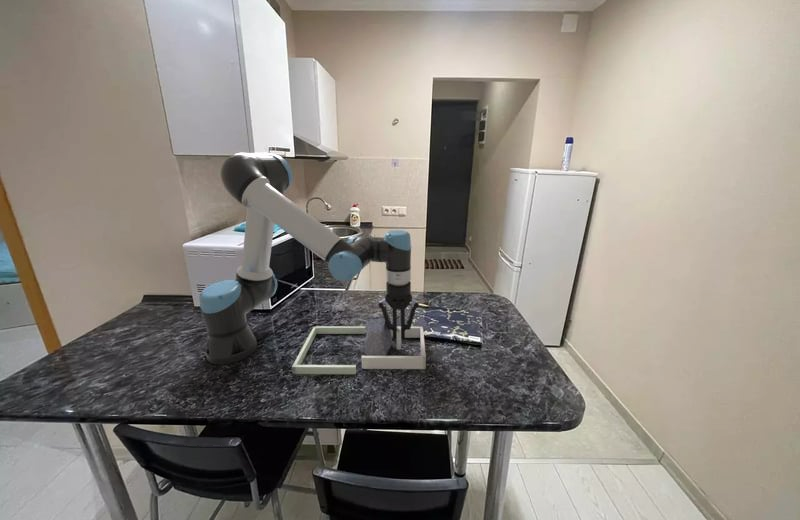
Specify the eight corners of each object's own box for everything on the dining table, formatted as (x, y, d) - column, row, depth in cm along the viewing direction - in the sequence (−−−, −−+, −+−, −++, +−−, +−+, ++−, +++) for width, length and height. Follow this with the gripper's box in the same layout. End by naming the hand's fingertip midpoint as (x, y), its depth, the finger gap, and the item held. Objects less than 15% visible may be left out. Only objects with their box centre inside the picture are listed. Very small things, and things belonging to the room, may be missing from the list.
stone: (371, 344, 109) (397, 338, 106) (366, 366, 100) (394, 361, 98) (358, 319, 103) (385, 313, 101) (351, 340, 95) (381, 334, 92)
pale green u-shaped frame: (292, 373, 91) (291, 366, 91) (314, 332, 113) (313, 326, 112) (355, 374, 91) (355, 367, 90) (365, 332, 113) (365, 326, 112)
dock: (361, 368, 93) (361, 357, 92) (368, 336, 110) (368, 326, 109) (425, 369, 93) (425, 358, 92) (422, 336, 110) (422, 326, 109)
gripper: (376, 286, 90) (378, 353, 98) (420, 286, 90) (419, 353, 97) (378, 276, 97) (380, 340, 105) (419, 276, 97) (418, 340, 104)
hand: (399, 346), depth 101 cm, fingers closed
